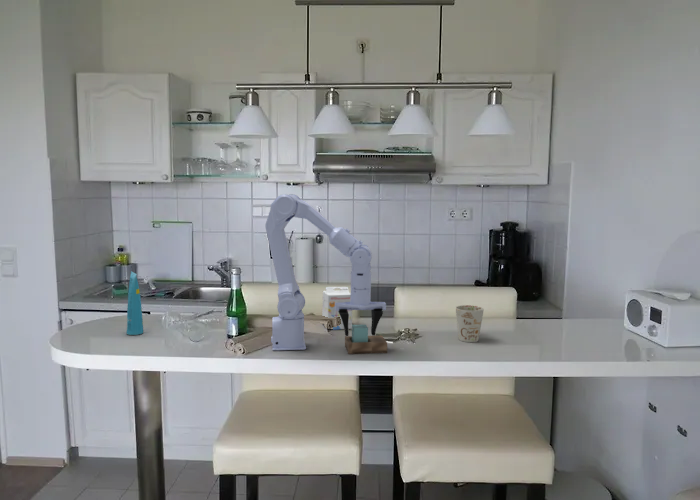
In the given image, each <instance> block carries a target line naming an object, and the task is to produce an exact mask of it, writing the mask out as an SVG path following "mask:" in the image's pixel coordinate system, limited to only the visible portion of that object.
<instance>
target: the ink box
mask: <svg viewBox="0 0 700 500" xmlns="http://www.w3.org/2000/svg"><path fill="white" fill-rule="evenodd" d="M349 288H350V287H348V286H326V287H325V290H323V291H322V309H321V310H322V311H321V312H322V313H321V315H322V316H325V317H328V318H334V317H340V319H341V316H340V314H339V312H338V311H335V303H342V302H350V301H351V292H350V289H349ZM336 289H338V290H336ZM339 289H340V290H339ZM347 311H348V314H349V318H348V330H349V329H350V330H352V325H353V310H347ZM322 316H321V317H322ZM333 330H335V331H336V330H344V325H343V322H342V319H341V324H340V325H339V326H337V327H333ZM333 330H332V331H333Z"/></svg>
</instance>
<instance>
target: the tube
mask: <svg viewBox="0 0 700 500" xmlns="http://www.w3.org/2000/svg"><path fill="white" fill-rule="evenodd" d="M137 275H138V274H137V273H135V272H133V271H130V276H129V284H128V292H127V293H128V295H127V307H126V308H127V309H126V310H127V312H126V313H127V314H126V335H128V336H129V335H130V336H137V335H142V334H143V333H144V322H143V319H144V318H143V308H142V302H141V300H142V299H141V298H142V297H141V291H140V287H139V282H138V281H139V280H138V278H137Z"/></svg>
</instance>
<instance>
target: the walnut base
mask: <svg viewBox="0 0 700 500" xmlns="http://www.w3.org/2000/svg"><path fill="white" fill-rule="evenodd" d="M344 348H345V350H346V352H347V354H348V355H362V354H363V355H366V354H367V355H368V354H371V355H372V354H388V342H387V340H386V339H385V338H384V336H383V335H368V342H354V343H352V335H348V336H346V335H345V336H344Z"/></svg>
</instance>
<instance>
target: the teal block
mask: <svg viewBox="0 0 700 500" xmlns="http://www.w3.org/2000/svg"><path fill="white" fill-rule="evenodd" d="M351 336H352V343H354V342H368V336H369V327H368V326H367V324H352V329H351Z"/></svg>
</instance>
